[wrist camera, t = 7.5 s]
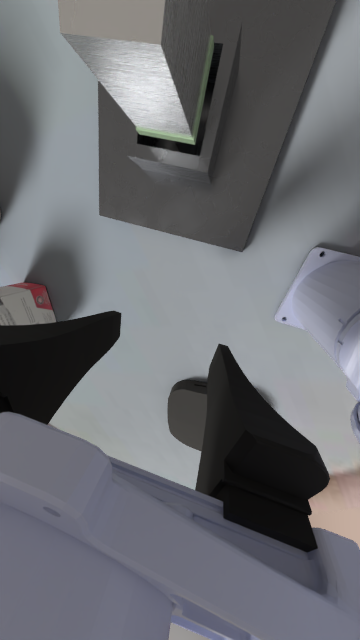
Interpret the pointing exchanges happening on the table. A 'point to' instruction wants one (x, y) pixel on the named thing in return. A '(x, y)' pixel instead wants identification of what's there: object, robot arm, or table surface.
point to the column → (146, 58)
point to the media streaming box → (188, 412)
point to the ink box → (25, 305)
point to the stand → (217, 127)
